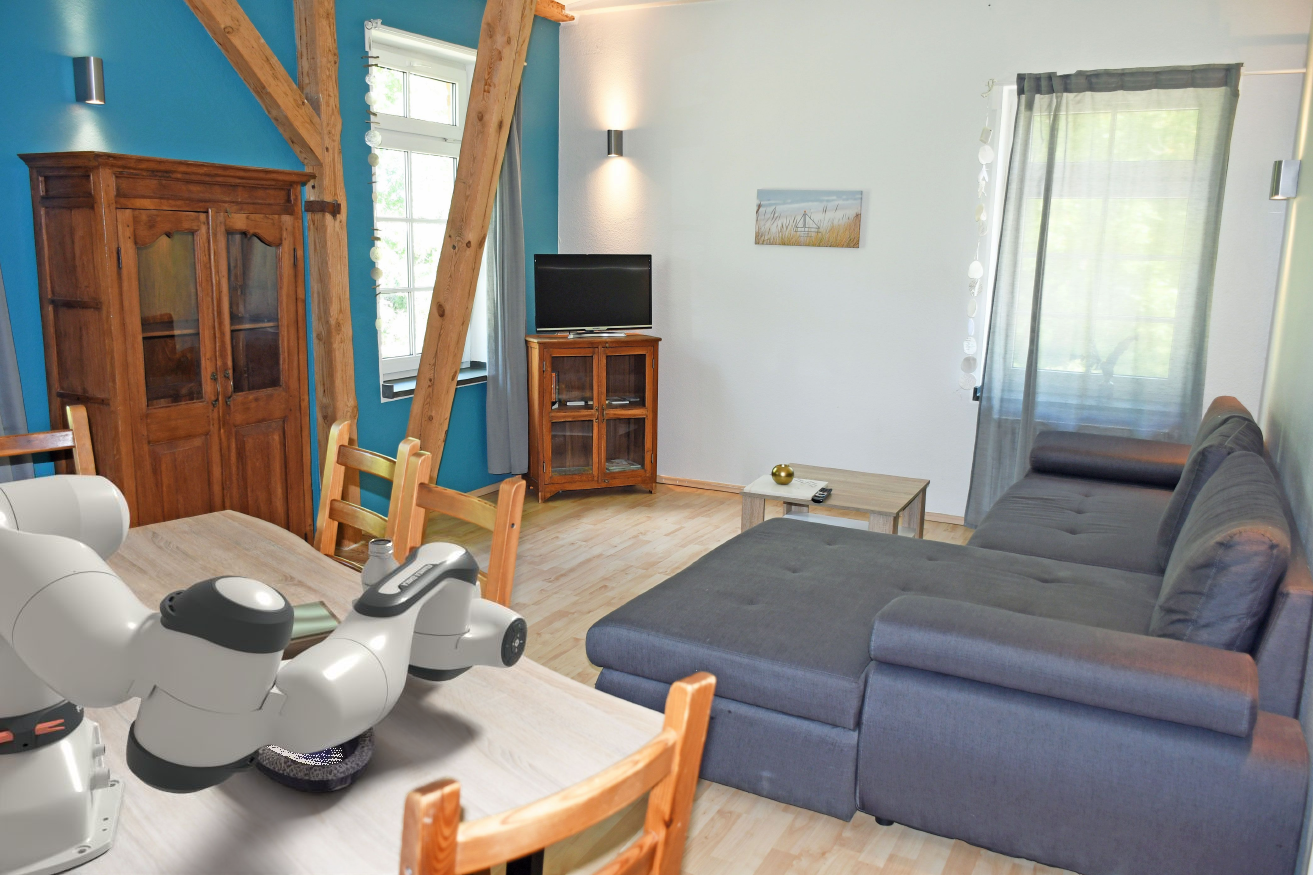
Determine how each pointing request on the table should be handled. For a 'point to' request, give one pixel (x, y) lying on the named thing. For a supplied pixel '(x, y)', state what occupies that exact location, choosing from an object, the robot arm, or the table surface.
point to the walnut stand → (310, 627)
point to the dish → (320, 775)
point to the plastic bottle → (378, 562)
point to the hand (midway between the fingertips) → (378, 595)
